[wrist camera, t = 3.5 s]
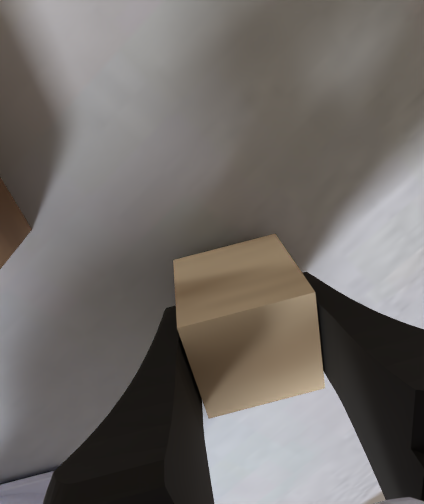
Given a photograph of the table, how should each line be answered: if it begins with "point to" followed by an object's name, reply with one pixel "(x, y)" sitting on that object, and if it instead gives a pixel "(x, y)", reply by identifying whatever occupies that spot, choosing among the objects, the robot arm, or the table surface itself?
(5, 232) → the tan wooden block
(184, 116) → the table surface
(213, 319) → the beech cube
